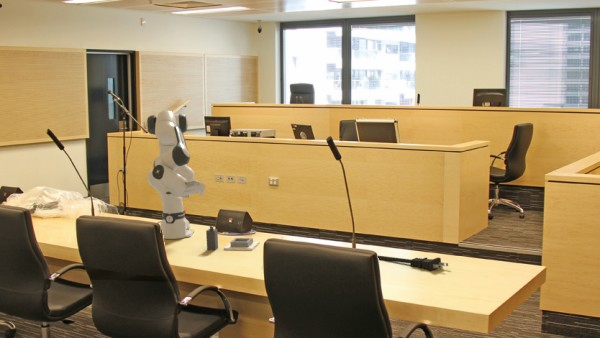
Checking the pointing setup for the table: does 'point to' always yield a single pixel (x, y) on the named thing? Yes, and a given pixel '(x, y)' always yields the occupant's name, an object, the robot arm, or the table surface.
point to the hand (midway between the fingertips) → (195, 195)
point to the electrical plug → (418, 262)
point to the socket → (241, 244)
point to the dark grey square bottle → (212, 239)
